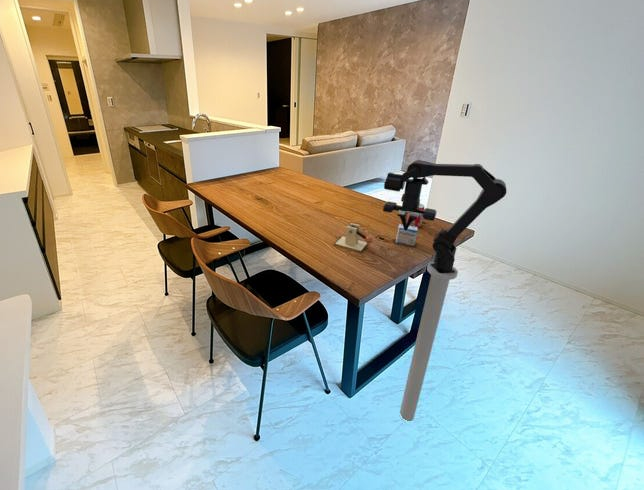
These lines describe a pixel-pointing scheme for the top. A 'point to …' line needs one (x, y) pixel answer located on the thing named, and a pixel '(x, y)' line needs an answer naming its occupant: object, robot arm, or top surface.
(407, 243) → the medicine box
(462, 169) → the robot arm
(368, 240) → the switch lever
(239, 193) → the top surface
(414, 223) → the soda can
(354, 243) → the switch bracket
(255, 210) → the top surface
